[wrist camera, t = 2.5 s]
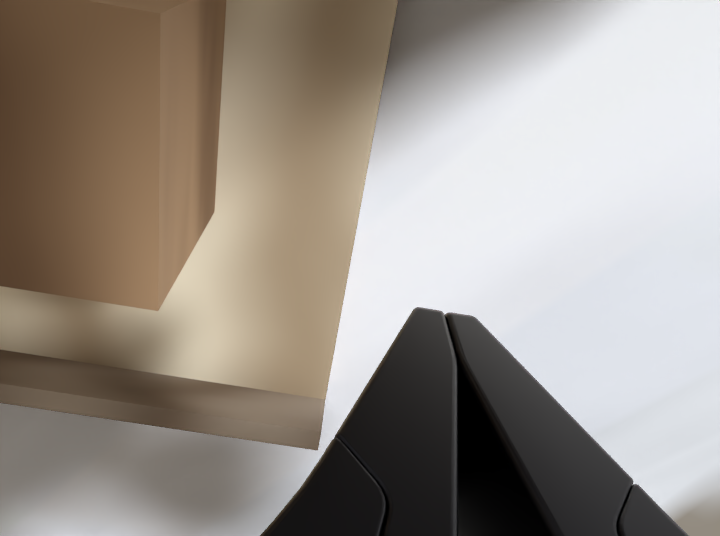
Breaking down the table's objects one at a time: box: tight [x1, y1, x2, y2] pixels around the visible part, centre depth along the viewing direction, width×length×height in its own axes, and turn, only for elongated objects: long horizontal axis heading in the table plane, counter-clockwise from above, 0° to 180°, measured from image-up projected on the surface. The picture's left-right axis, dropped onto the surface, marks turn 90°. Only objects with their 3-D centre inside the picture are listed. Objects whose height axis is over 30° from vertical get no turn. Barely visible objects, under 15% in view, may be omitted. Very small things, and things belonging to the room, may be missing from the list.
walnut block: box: [0, 0, 226, 311], centre depth 14 cm, size 6×6×5 cm
